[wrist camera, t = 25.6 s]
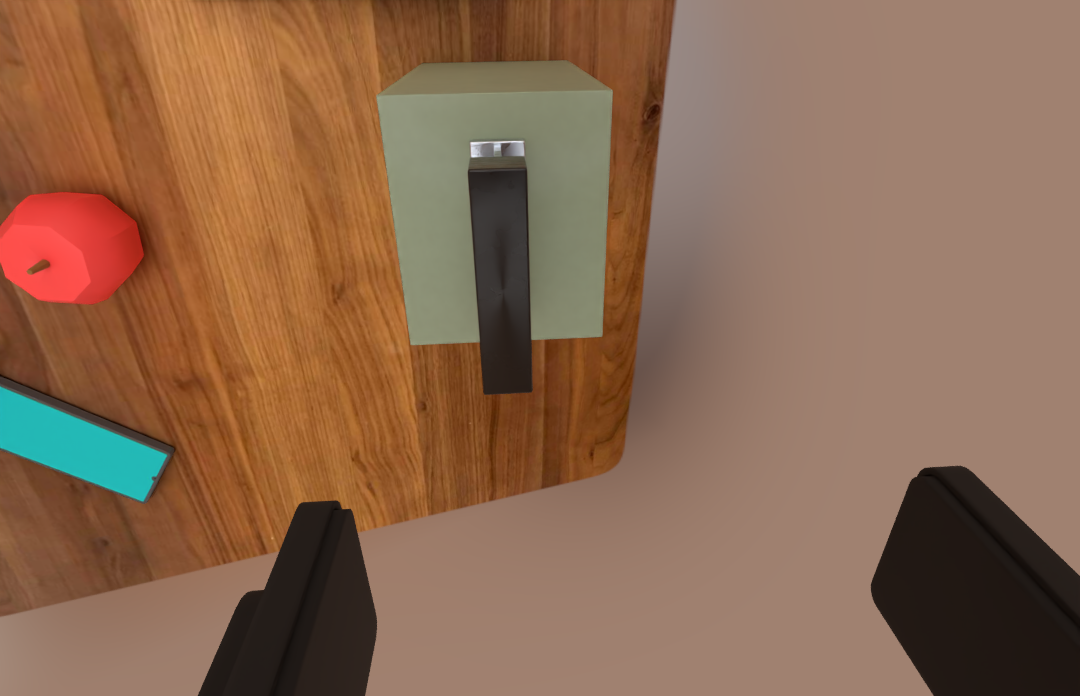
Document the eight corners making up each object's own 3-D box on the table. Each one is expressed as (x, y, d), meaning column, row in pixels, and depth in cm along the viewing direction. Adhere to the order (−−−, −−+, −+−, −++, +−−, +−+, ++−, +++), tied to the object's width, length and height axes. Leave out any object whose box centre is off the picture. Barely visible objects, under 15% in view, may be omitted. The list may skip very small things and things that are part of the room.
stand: (568, 60, 41) (612, 89, 25) (566, 228, 47) (602, 337, 31) (421, 62, 41) (375, 95, 25) (438, 233, 46) (410, 345, 31)
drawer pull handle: (524, 130, 26) (533, 167, 20) (529, 315, 30) (537, 392, 24) (469, 132, 26) (461, 169, 20) (481, 317, 30) (478, 396, 24)
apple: (148, 296, 47) (88, 345, 40) (36, 254, 45) (-48, 298, 38) (169, 208, 44) (108, 245, 37) (50, 158, 42) (-39, 187, 35)
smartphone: (-15, 378, 49) (171, 454, 54) (-7, 372, 50) (176, 448, 55) (-34, 438, 52) (145, 505, 57) (-27, 432, 52) (149, 499, 57)
